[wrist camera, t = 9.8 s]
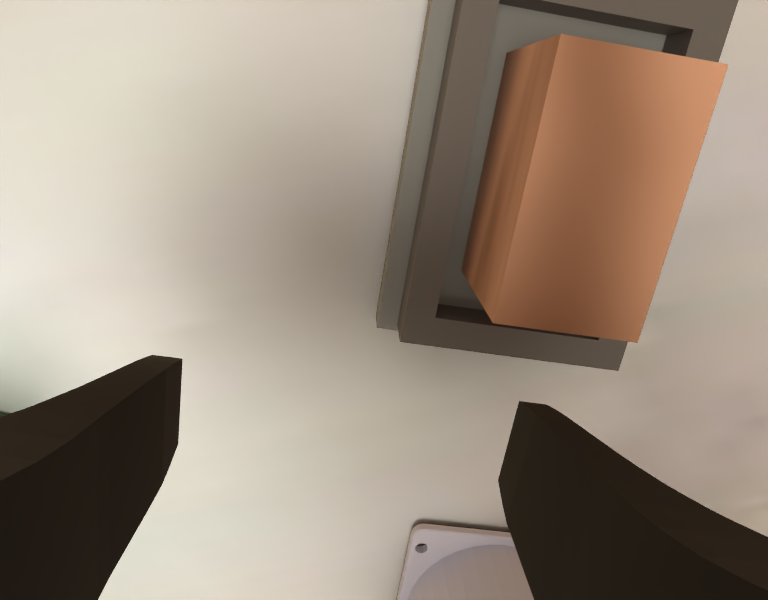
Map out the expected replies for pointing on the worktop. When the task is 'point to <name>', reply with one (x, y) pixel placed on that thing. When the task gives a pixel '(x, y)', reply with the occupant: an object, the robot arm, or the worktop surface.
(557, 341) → the nest plate
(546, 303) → the terracotta bar
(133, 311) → the worktop surface
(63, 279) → the worktop surface
